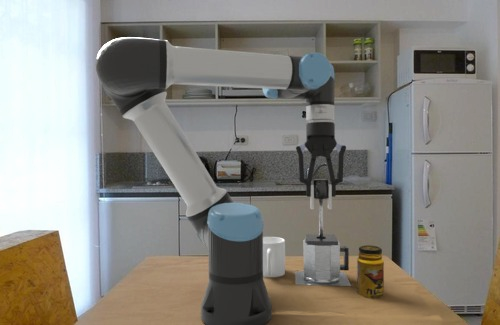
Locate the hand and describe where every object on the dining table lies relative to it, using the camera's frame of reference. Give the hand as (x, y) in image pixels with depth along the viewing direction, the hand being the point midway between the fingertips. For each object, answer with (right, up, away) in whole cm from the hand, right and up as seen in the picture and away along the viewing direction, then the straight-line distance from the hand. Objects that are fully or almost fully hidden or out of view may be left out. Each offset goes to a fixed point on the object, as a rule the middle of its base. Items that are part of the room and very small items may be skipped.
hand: (320, 208), depth 99 cm
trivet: (0, -20, 0) cm, 20 cm away
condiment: (+9, -20, -10) cm, 24 cm away
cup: (-13, -20, +4) cm, 24 cm away
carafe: (+1, -19, 0) cm, 19 cm away
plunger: (0, -11, 0) cm, 11 cm away
